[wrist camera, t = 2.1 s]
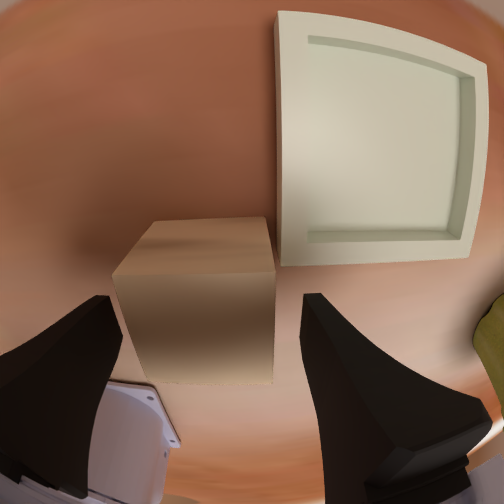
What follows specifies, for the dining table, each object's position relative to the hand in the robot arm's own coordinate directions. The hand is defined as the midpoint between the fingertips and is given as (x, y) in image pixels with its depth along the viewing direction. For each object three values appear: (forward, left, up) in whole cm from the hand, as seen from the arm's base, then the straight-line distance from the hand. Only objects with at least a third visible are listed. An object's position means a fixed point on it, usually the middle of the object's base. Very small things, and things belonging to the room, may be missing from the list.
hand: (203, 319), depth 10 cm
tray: (+6, -8, -4) cm, 11 cm away
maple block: (0, 0, -4) cm, 4 cm away
